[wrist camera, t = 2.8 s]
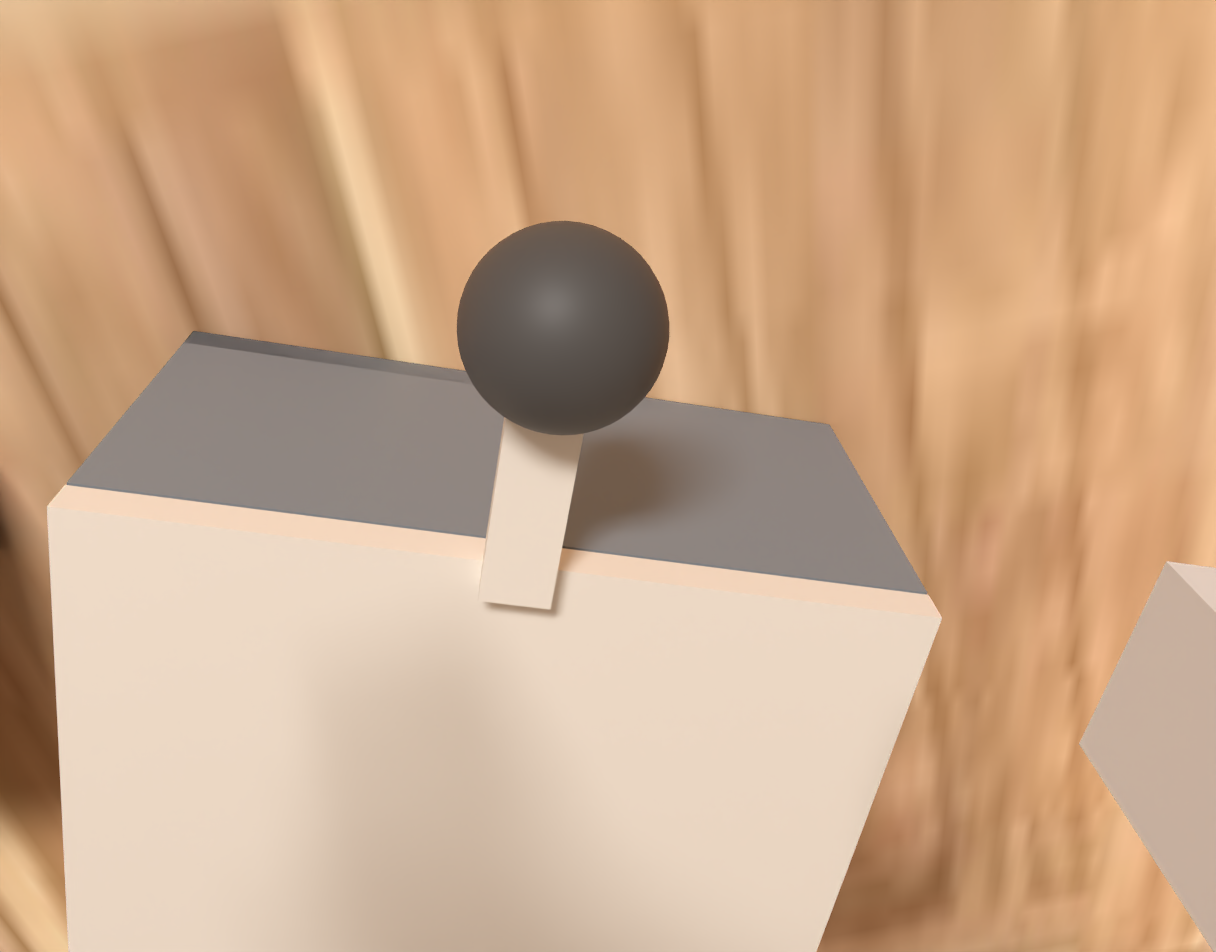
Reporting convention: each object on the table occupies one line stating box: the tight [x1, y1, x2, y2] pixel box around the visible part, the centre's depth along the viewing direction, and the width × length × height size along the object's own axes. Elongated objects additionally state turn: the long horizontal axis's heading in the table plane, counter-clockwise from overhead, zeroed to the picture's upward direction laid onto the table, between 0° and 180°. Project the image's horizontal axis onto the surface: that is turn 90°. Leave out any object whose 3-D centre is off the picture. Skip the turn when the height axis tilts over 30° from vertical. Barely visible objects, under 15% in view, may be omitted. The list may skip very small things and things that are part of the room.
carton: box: [67, 331, 927, 595], centre depth 33 cm, size 16×20×10 cm
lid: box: [47, 221, 942, 952], centre depth 25 cm, size 24×20×4 cm
